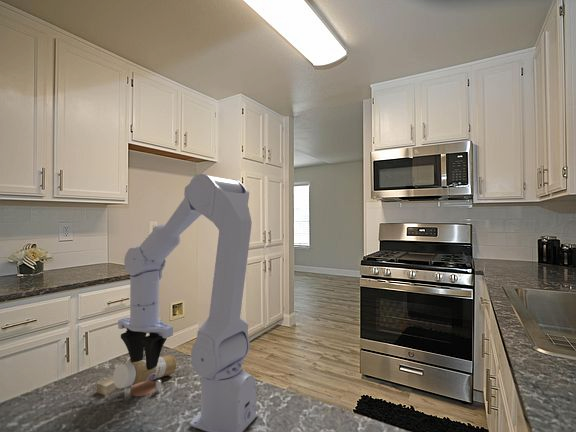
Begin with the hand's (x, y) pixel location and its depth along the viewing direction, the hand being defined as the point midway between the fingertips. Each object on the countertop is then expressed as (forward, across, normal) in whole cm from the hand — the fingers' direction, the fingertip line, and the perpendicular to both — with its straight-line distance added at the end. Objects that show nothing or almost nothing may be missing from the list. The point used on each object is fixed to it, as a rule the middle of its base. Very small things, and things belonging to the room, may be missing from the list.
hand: (144, 365), depth 68 cm
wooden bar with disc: (+5, 0, 0) cm, 5 cm away
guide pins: (+5, 0, 0) cm, 5 cm away
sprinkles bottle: (+3, 0, -7) cm, 8 cm away
